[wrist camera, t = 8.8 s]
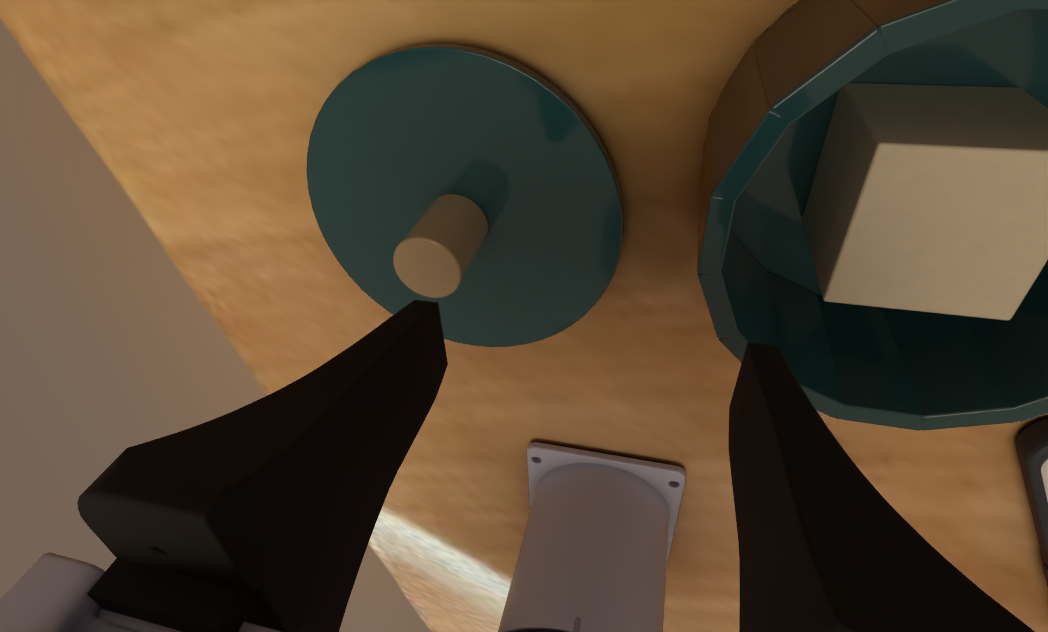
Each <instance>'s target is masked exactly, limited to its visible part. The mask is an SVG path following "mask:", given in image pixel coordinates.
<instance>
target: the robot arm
mask: <svg viewBox="0 0 1048 632" xmlns="http://www.w3.org/2000/svg"><path fill="white" fill-rule="evenodd" d="M447 365H448V363H447V357H446V350H445V343H444V337H443V330H442V324H441V317H440V311H439V304H438V302H430V301H423V300H414V301H412V302H411V303H409V304H408V305H407V306H405V307H404V308H402V309H401V310H400V311H398V312H397V313H396V314H394V315H393V316H392V317H390V318H389V319H388V320H386V321H385V322H384V323H382V324H381V325H380V326H378V327H377V328H376V329H374V330H373V331H371V332H370V333H369V334H367V335H366V336H365V337H363V338H362V339H360V340H359V341H358V342H356V343H355V344H354V345H352V346H351V347H349V348H348V349H346V350H345V351H343V352H342V353H340V354H338V355H337V356H335V357H334V358H332V359H331V360H329V361H328V362H326V363H325V364H323V365H322V366H320V367H319V368H317V369H315V370H314V371H312V372H311V373H309V374H307V375H305V376H304V377H302V378H300V379H298V380H297V381H295V382H293V383H291V384H289V385H287V386H285V387H284V388H282V389H280V390H278V391H276V392H274V393H272V394H270V395H268V396H266V397H264V398H261V399H259V400H257V401H255V402H253V403H251V404H248V405H246V406H244V407H242V408H240V409H238V410H235V411H233V412H231V413H228V414H226V415H224V416H221V417H219V418H216V419H213V420H211V421H208V422H206V423H203V424H200V425H197V426H195V427H192V428H189V429H186V430H184V431H181V432H178V433H175V434H171V435H168V436H165V437H162V438H159V439H155V440H152V441H149V442H146V443H143V444H139V445H136V446H132V447H129V448H127V449H126V450H125V451H124V452H123V453H122V454H121V455H120V456H119V457H118V458H117V459H116V460H115V461H114V462H113V463H112V464H111V465H110V466H109V467H108V468H107V469H106V470H105V471H104V472H103V473H102V474H101V475H100V476H99V477H98V478H97V479H96V480H95V481H94V482H93V483H92V484H91V485H90V486H89V487H88V488H87V489H86V490H85V491H84V493H82V494H81V495H80V497H79V500H78V510H79V512H80V515H81V517H82V518H83V520H84V521H85V522H86V524H87V525H88V526H89V527H90V529H91V530H92V531H93V532H94V533H95V534H96V535H97V536H98V537H99V538H100V540H101V541H102V542H103V543H104V544H105V545H106V546H107V548H108V549H109V550H110V551H111V552H112V553H113V554H114V555H115V556H116V557H117V559H116V560H115V561H114V562H113V563H112V564H111V566H110V567H109V568H108V569H107V570H106V572H105V571H104V570H102V569H101V568H99V567H97V566H95V565H93V564H90V563H87V562H84V561H80V560H76V559H72V558H68V557H65V556H61V555H57V554H53V553H45V554H43V555H42V556H41V557H40V558H39V560H38V561H37V562H36V563H35V564H34V565H33V566H32V567H31V568H30V569H29V570H28V571H27V572H26V573H25V574H24V575H23V576H22V578H20V580H19V581H18V582H17V583H16V584H15V585H14V586H13V587H12V588H11V589H10V590H9V591H8V592H7V593H6V594H5V595H4V596H3V597H2V598H1V600H0V632H339V629H340V626H341V623H342V619H343V616H344V613H345V610H346V606H347V603H348V600H349V597H350V594H351V591H352V588H353V585H354V582H355V579H356V576H357V573H358V570H359V567H360V565H361V562H362V559H363V556H364V553H365V551H366V548H367V545H368V542H369V540H370V537H371V534H372V532H373V529H374V526H375V523H376V521H377V518H378V516H379V513H380V511H381V508H382V506H383V503H384V501H385V498H386V496H387V493H388V491H389V488H390V486H391V484H392V482H393V480H394V478H395V475H396V473H397V471H398V469H399V467H400V466H401V464H402V462H403V460H404V458H405V456H406V454H407V452H408V450H409V449H410V447H411V445H412V443H413V441H414V439H415V437H416V435H417V433H418V432H419V430H420V428H421V426H422V424H423V422H424V420H425V418H426V416H427V414H428V412H429V410H430V408H431V406H432V404H433V402H434V400H435V398H436V396H437V393H438V390H439V388H440V385H441V382H442V379H443V376H444V373H445V371H446V368H447ZM729 456H730V466H731V476H732V485H733V494H734V503H735V512H736V521H737V531H738V540H739V556H740V632H1034V631H1033V630H1032V629H1031V628H1029V627H1028V626H1027V625H1026V624H1024V623H1023V622H1022V621H1020V620H1019V619H1018V618H1017V617H1015V616H1014V615H1013V614H1011V613H1010V612H1009V611H1008V610H1006V609H1005V608H1004V607H1002V606H1001V605H1000V604H999V603H997V602H996V601H995V600H993V599H992V598H991V597H990V596H988V595H987V594H986V593H985V592H983V591H982V590H981V589H980V588H979V587H977V586H976V585H975V584H974V583H973V582H972V581H970V580H969V579H968V578H967V577H966V576H965V575H963V574H962V573H961V572H960V571H959V570H958V569H957V568H955V567H954V566H953V565H952V564H951V563H950V562H948V561H947V560H946V559H945V558H944V557H943V556H942V555H941V554H940V553H939V552H937V551H936V550H935V549H934V548H933V547H932V546H931V545H930V544H929V543H928V542H927V541H926V540H925V539H924V538H923V537H922V536H921V535H920V534H919V533H918V532H917V531H916V530H915V529H914V528H913V527H911V526H910V525H909V524H908V523H907V522H906V521H905V520H904V519H903V518H902V517H901V516H900V515H899V514H898V513H897V512H896V511H895V510H894V509H893V507H892V506H891V505H890V504H889V503H888V502H887V501H886V500H885V499H884V498H883V497H882V496H881V495H880V493H879V492H878V491H877V490H876V489H875V488H874V486H873V485H872V484H871V483H870V482H869V481H868V480H867V478H866V477H865V476H864V475H863V474H862V472H861V471H860V470H859V469H858V467H857V466H856V465H855V464H854V462H853V461H852V460H851V459H850V457H849V456H848V455H847V453H846V452H845V451H844V449H843V448H842V447H841V445H840V444H839V443H838V441H837V440H836V439H835V437H834V436H833V434H832V433H831V431H830V430H829V429H828V427H827V426H826V424H825V423H824V421H823V420H822V418H821V417H820V415H819V414H818V412H817V411H816V409H815V408H814V406H813V405H812V403H811V402H810V400H809V398H808V397H807V395H806V394H805V392H804V390H803V389H802V387H801V385H800V383H799V382H798V380H797V378H796V377H795V375H794V373H793V371H792V370H791V368H790V366H789V364H788V362H787V361H786V359H785V357H784V355H783V353H782V351H781V350H780V349H779V348H778V346H773V345H765V344H757V343H749V342H748V343H747V346H746V350H745V354H744V357H743V361H742V364H741V368H740V371H739V375H738V379H737V382H736V386H735V389H734V393H733V396H732V400H731V404H730V409H729ZM527 463H528V480H529V497H530V514H529V518H528V522H527V525H526V529H525V533H524V537H523V540H522V544H521V548H520V552H519V555H518V559H517V563H516V567H515V570H514V574H513V578H512V581H511V585H510V589H509V593H508V596H507V600H506V604H505V608H504V611H503V615H502V619H501V623H500V626H499V630H498V632H663V622H664V603H665V585H666V567H667V562H668V557H669V553H670V548H671V544H672V539H673V535H674V530H675V526H676V521H677V516H678V512H679V507H680V503H681V498H682V494H683V489H684V485H685V480H686V471H685V470H684V469H683V468H681V467H679V466H674V465H669V464H663V463H657V462H651V461H645V460H639V459H633V458H627V457H621V456H615V455H609V454H604V453H598V452H592V451H586V450H580V449H574V448H568V447H562V446H556V445H550V444H544V443H538V442H533V443H530V444H529V446H528V449H527Z"/></svg>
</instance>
